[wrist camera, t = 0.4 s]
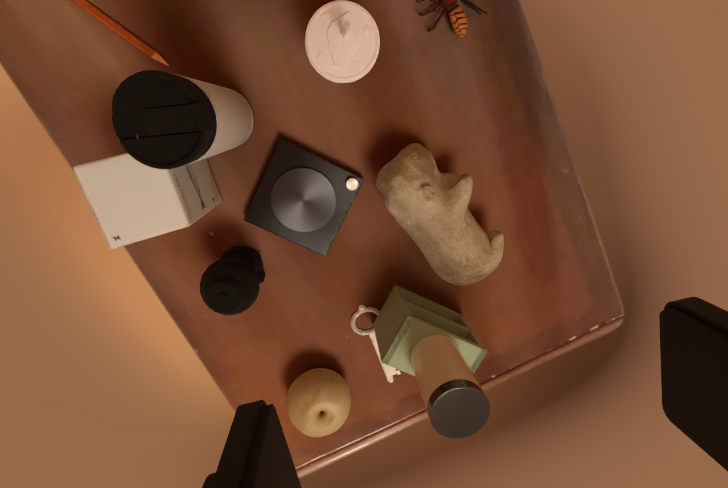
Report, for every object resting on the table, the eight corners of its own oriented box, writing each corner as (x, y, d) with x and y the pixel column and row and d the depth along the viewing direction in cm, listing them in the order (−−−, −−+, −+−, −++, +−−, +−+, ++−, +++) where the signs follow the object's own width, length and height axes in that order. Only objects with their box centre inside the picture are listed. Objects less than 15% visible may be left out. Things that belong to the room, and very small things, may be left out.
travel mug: (262, 144, 47) (219, 165, 28) (201, 151, 47) (116, 176, 28) (252, 84, 45) (199, 62, 26) (189, 90, 45) (89, 73, 26)
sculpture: (452, 117, 45) (410, 158, 39) (525, 248, 50) (499, 305, 43) (393, 149, 51) (348, 188, 45) (462, 262, 56) (431, 314, 49)
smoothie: (376, 33, 45) (397, -2, 32) (361, 96, 47) (375, 88, 33) (316, 15, 44) (311, -29, 31) (303, 80, 46) (293, 65, 32)
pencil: (0, -63, 40) (-6, -66, 39) (173, 63, 44) (171, 63, 44) (-4, -55, 40) (-10, -58, 40) (169, 70, 44) (167, 69, 44)
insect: (406, 8, 45) (442, -32, 44) (445, 52, 47) (481, 15, 45) (408, 7, 42) (447, -37, 40) (450, 55, 44) (489, 15, 42)
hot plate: (281, 136, 47) (279, 137, 45) (362, 177, 49) (364, 180, 47) (246, 217, 49) (242, 221, 47) (325, 252, 51) (325, 258, 49)
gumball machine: (251, 300, 52) (234, 341, 43) (205, 278, 51) (178, 315, 42) (277, 254, 51) (266, 286, 41) (231, 230, 50) (208, 257, 40)
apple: (272, 393, 56) (275, 400, 49) (321, 354, 59) (331, 355, 51) (307, 443, 56) (316, 457, 48) (355, 401, 58) (370, 409, 51)
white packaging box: (225, 201, 49) (191, 229, 37) (161, 218, 49) (107, 252, 37) (201, 136, 46) (158, 143, 34) (135, 154, 46) (68, 167, 34)
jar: (425, 327, 45) (449, 378, 36) (468, 345, 46) (501, 399, 38) (401, 368, 46) (418, 427, 38) (443, 385, 48) (470, 447, 39)
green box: (394, 284, 53) (407, 316, 45) (462, 314, 55) (487, 351, 47) (372, 324, 55) (381, 363, 46) (439, 352, 57) (460, 394, 48)
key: (375, 297, 54) (344, 309, 54) (376, 300, 53) (344, 312, 53) (405, 374, 58) (375, 385, 58) (406, 378, 57) (376, 389, 57)
